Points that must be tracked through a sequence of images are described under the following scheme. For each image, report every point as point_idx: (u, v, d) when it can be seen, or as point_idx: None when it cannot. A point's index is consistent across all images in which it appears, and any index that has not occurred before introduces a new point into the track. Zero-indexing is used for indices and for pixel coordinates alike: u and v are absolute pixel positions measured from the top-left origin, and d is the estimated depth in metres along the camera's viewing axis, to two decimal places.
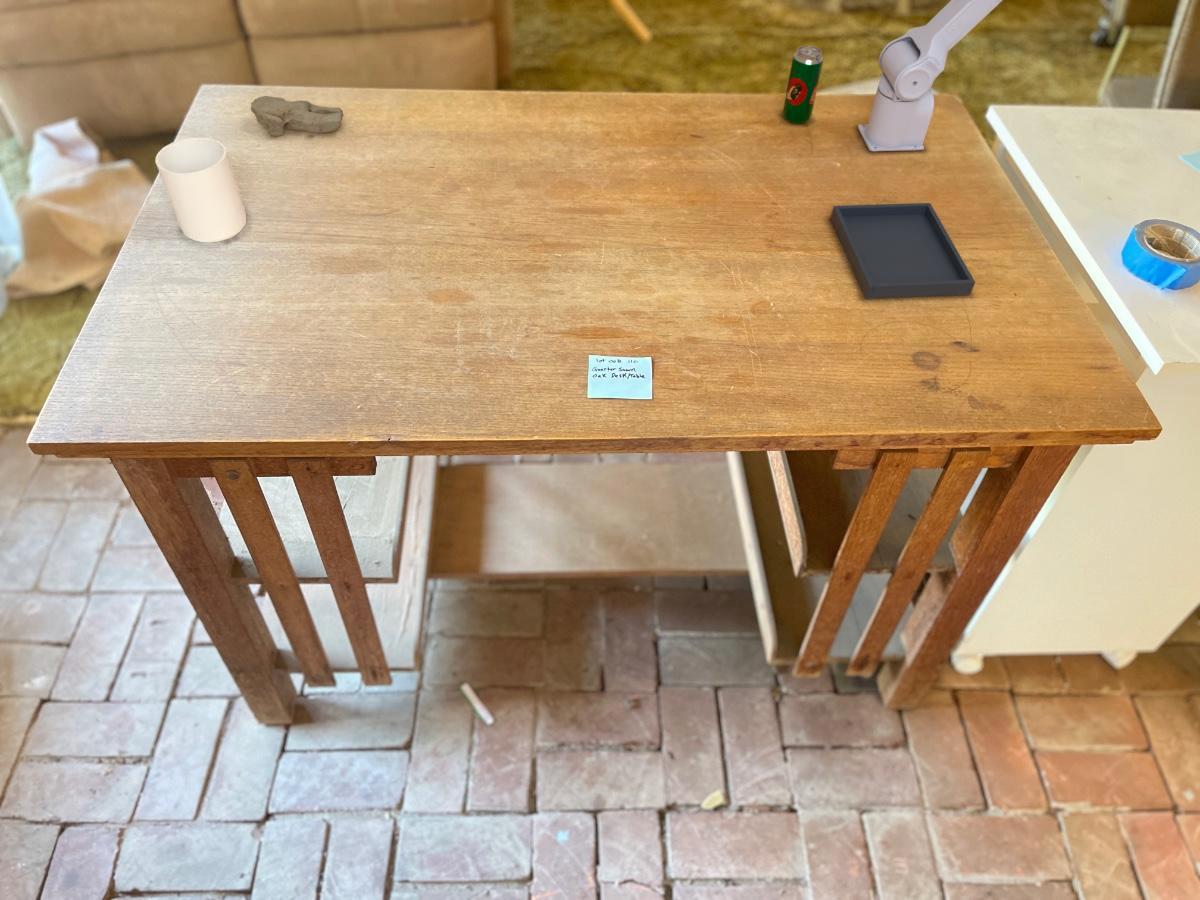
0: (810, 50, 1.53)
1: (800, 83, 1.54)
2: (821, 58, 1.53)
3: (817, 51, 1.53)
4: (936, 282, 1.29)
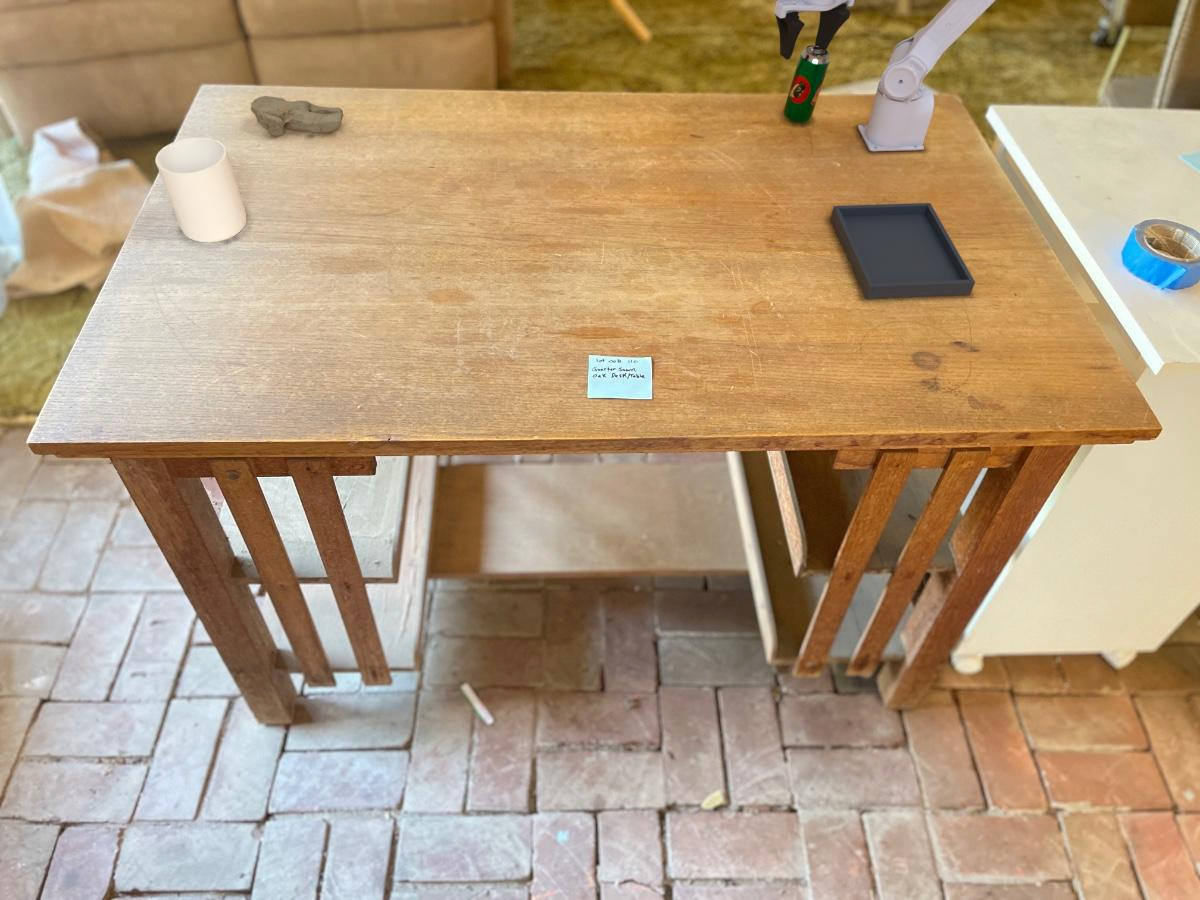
0: (818, 50, 1.53)
1: (805, 81, 1.54)
2: (828, 59, 1.53)
3: (825, 52, 1.53)
4: (936, 282, 1.29)
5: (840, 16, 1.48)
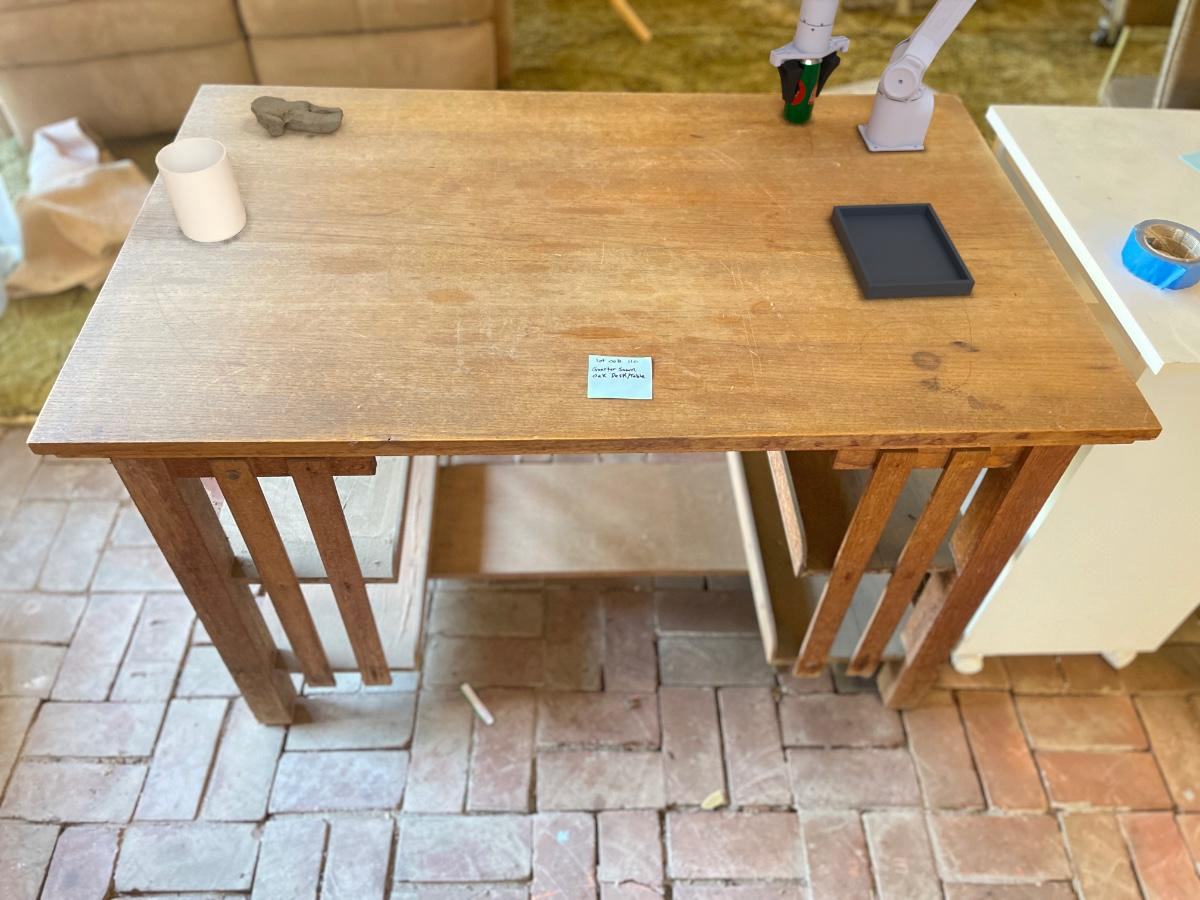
0: None
1: (799, 82, 1.55)
2: (820, 58, 1.52)
3: None
4: (936, 282, 1.29)
5: (830, 63, 1.53)
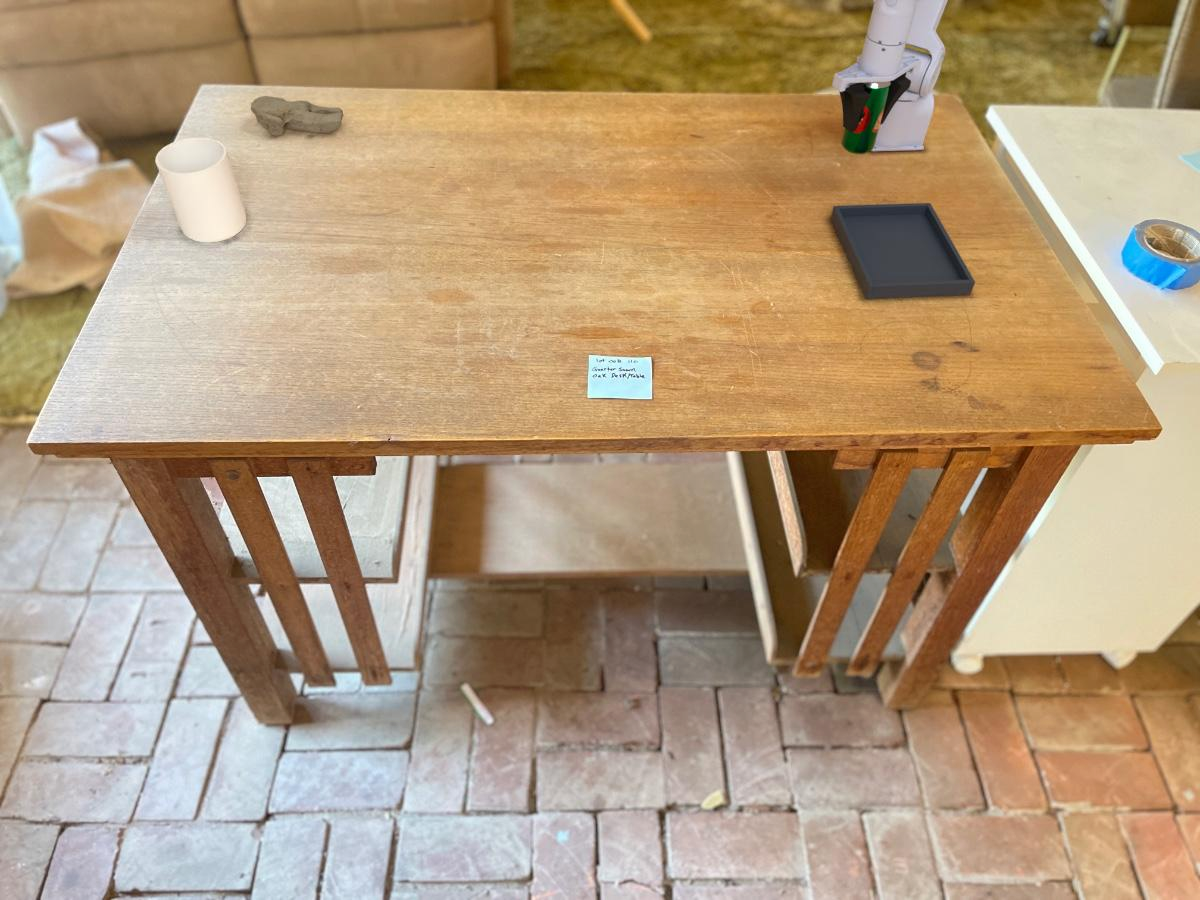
0: None
1: (864, 108, 1.36)
2: (889, 81, 1.34)
3: None
4: (936, 282, 1.29)
5: (900, 86, 1.35)
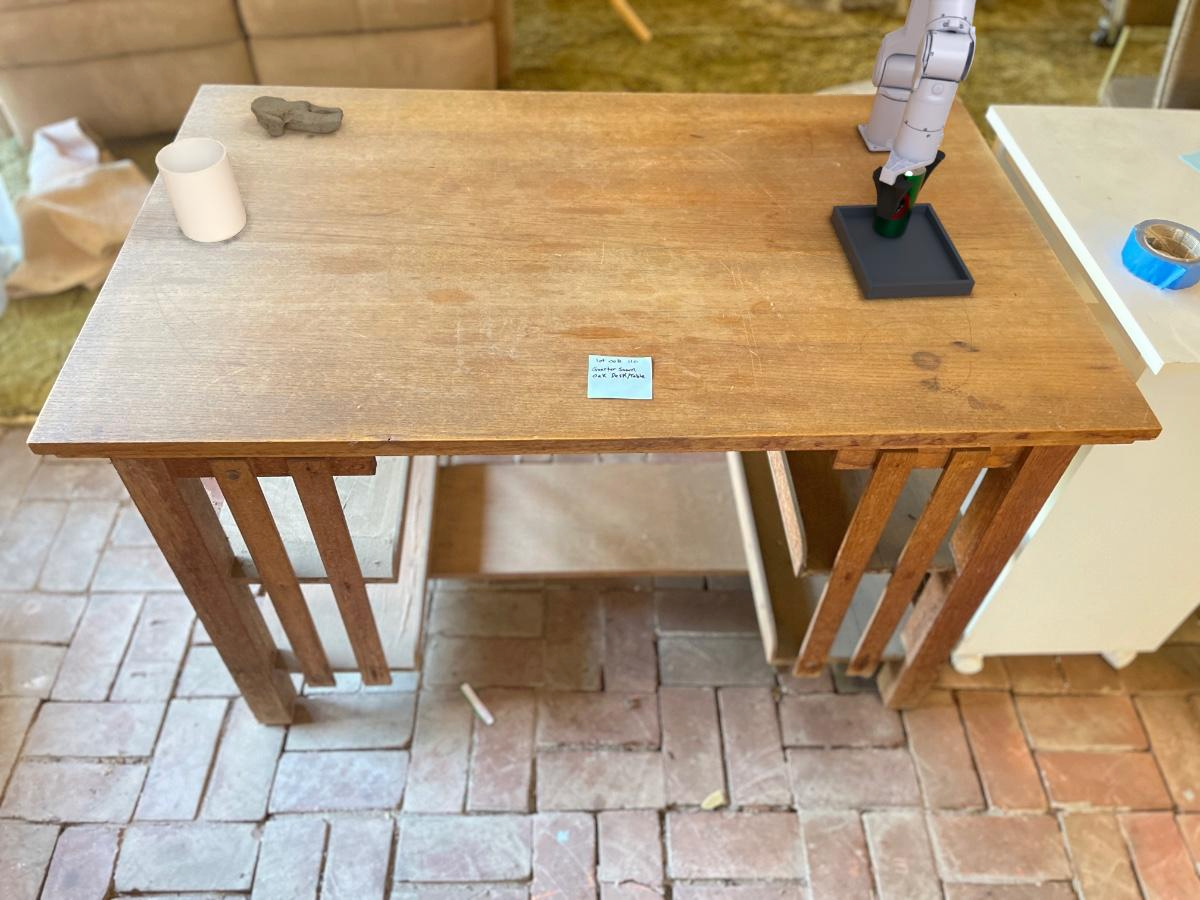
0: None
1: (904, 196, 1.32)
2: None
3: None
4: (936, 282, 1.29)
5: (939, 161, 1.31)
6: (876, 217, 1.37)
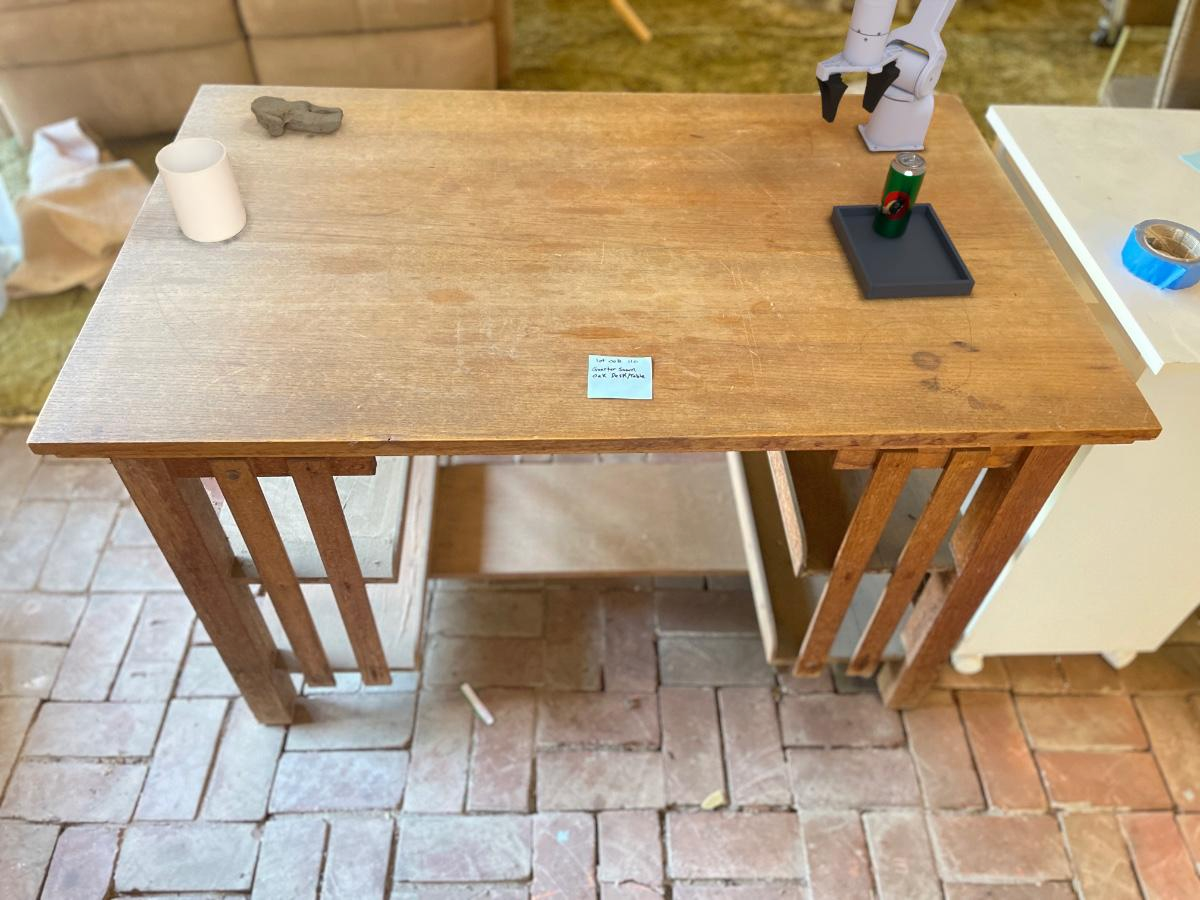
0: (910, 158, 1.30)
1: (904, 196, 1.32)
2: None
3: (917, 157, 1.31)
4: (936, 282, 1.29)
5: None
6: (876, 217, 1.37)
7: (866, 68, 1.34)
